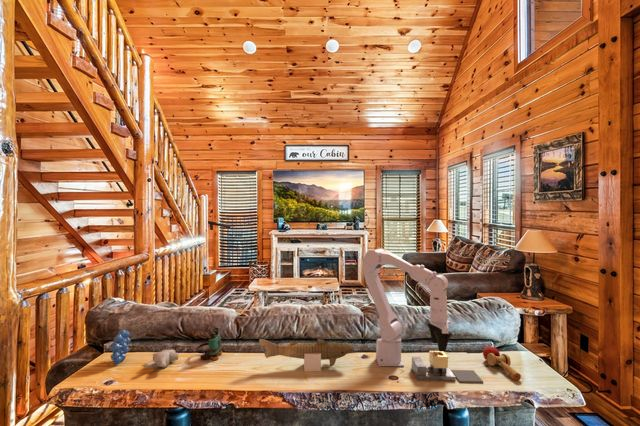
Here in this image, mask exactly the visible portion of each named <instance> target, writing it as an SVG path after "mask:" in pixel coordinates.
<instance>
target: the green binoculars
mask: <svg viewBox="0 0 640 426" xmlns="http://www.w3.org/2000/svg"><path fill="white" fill-rule="evenodd" d="M209 336H210V338H209V339H208V342H203V343H201V344H199V345H198V346H197V347H196V353H198V354H201V355H200V360H206V359H211V360H213V361H218V360H219V359H220V358H219V356H222V355H223V351H222V350H221V349H222V340H221V339H222V338H221V334H220V328H219V327H215V328H213V332H211V333H209ZM204 346H208V348H206V349H204V350H199V349H200V348H202V347H204Z"/></svg>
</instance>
